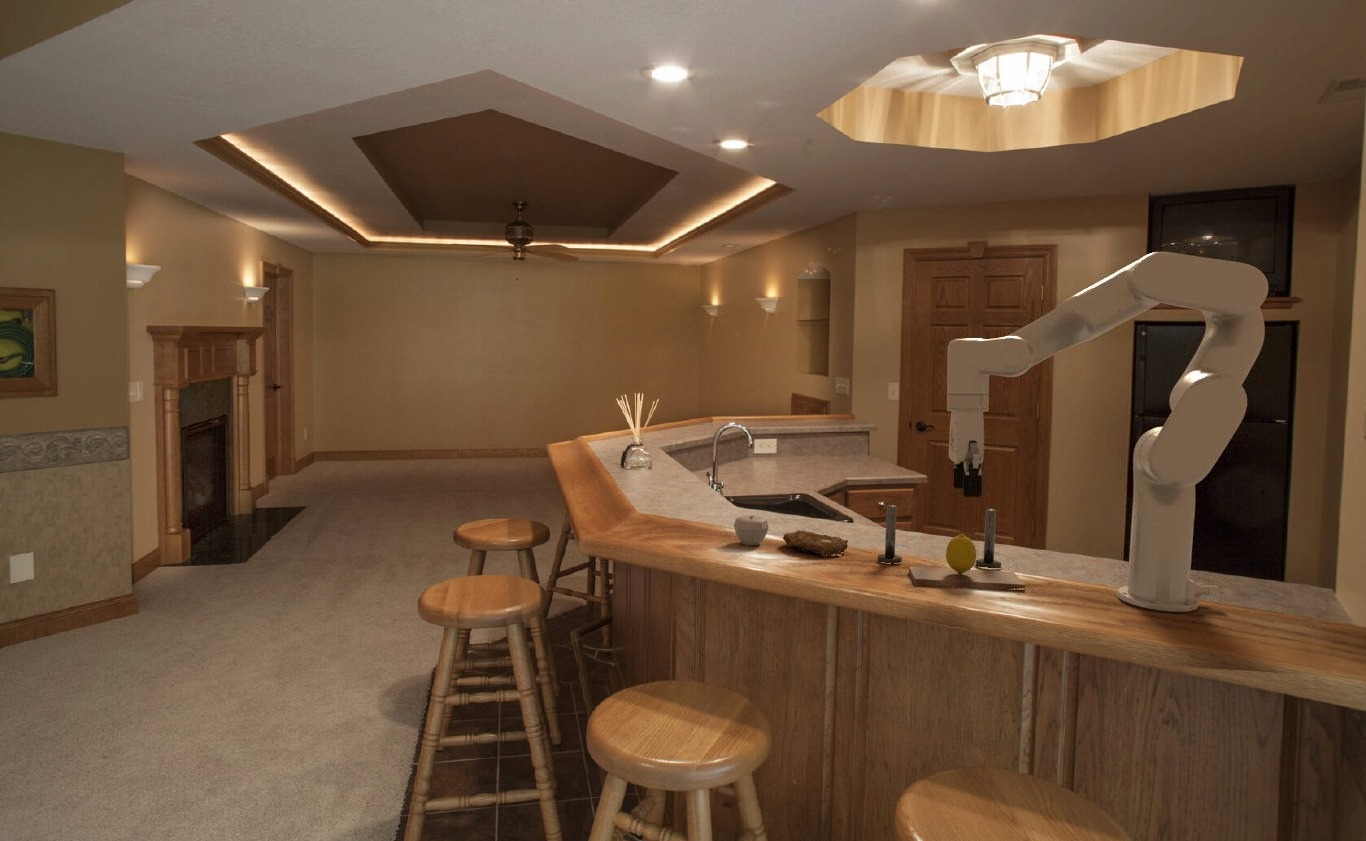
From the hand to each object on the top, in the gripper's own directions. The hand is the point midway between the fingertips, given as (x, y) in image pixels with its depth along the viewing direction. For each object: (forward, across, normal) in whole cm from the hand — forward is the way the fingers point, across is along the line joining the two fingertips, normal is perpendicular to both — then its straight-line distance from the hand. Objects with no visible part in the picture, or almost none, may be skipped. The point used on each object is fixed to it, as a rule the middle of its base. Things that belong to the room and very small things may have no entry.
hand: (967, 492), depth 155 cm
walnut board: (+18, 0, 0) cm, 18 cm away
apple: (+16, -22, -43) cm, 51 cm away
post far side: (+17, -12, -13) cm, 25 cm away
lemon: (+16, 0, -1) cm, 17 cm away
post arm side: (+18, -12, +7) cm, 23 cm away
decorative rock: (+17, -19, -29) cm, 39 cm away
